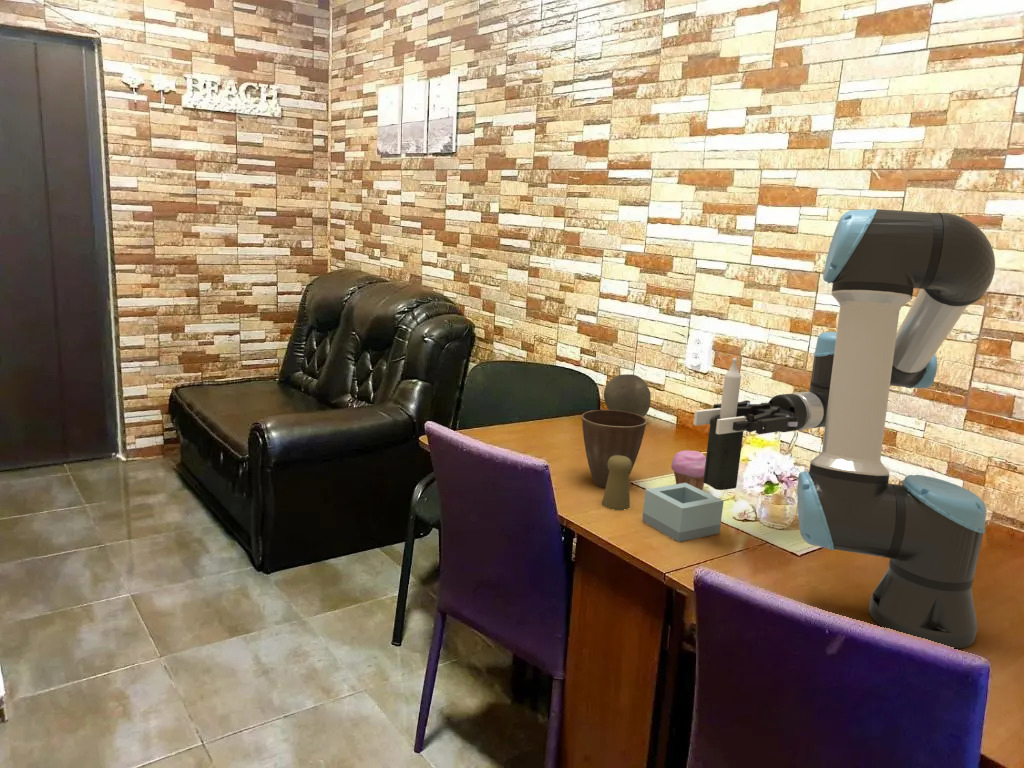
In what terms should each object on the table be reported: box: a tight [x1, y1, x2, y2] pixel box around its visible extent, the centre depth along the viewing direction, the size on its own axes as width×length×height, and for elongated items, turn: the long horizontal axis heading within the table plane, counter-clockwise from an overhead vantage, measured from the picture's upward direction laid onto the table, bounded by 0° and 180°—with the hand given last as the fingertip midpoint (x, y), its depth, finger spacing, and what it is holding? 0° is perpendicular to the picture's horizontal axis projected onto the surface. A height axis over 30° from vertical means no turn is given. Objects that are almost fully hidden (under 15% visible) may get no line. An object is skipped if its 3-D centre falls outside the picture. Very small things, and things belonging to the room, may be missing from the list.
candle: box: [703, 357, 744, 491], centre depth 141 cm, size 5×5×25 cm
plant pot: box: [581, 409, 648, 488], centre depth 174 cm, size 15×15×16 cm
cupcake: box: [671, 450, 706, 491], centre depth 172 cm, size 9×9×10 cm
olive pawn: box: [601, 455, 633, 511], centre depth 161 cm, size 6×6×11 cm
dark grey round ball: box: [603, 373, 652, 418], centre depth 230 cm, size 14×14×15 cm
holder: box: [641, 483, 725, 543], centre depth 151 cm, size 11×11×7 cm
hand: (706, 422), depth 138 cm, fingers closed on candle, 5 cm apart
